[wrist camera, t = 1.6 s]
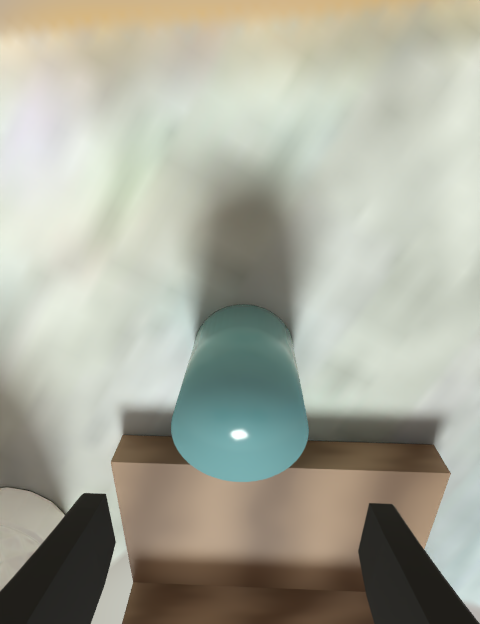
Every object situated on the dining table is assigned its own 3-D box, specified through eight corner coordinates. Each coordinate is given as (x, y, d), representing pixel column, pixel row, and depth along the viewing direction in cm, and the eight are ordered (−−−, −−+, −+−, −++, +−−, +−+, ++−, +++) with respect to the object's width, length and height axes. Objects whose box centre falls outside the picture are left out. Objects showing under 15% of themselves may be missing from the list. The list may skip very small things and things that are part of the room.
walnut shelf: (433, 444, 21) (483, 528, 16) (394, 572, 26) (424, 662, 21) (122, 434, 21) (87, 513, 17) (143, 562, 26) (120, 648, 22)
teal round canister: (296, 305, 18) (314, 377, 12) (289, 390, 20) (302, 484, 14) (193, 303, 18) (165, 373, 12) (197, 387, 20) (175, 479, 14)
